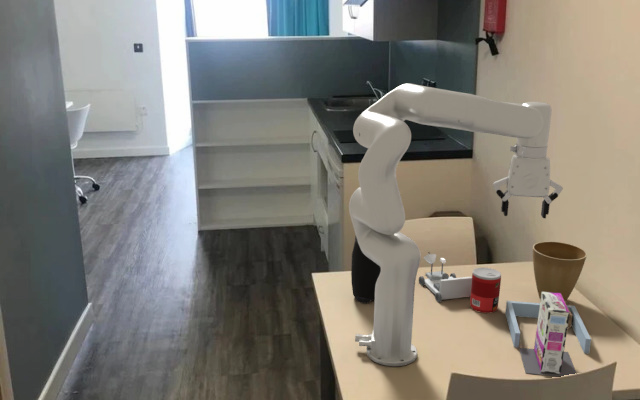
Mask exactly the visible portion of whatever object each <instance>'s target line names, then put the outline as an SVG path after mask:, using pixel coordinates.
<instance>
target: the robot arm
mask: <svg viewBox="0 0 640 400" xmlns="http://www.w3.org/2000/svg"><path fill="white" fill-rule="evenodd" d="M551 118H552V107H551V105H550V104H548V103H546V102H541V101H526V102H524V103H522V102H521V103H519V102H518V103H517V102H509V101H507V102H506V101H504V102H503V101H498V100H494V99H490V98H488V97H484V96H481V95H477V94H473V93H466V92H461V91H455V90H454V91H453V90H448V89H444V88H443V89H442V88H436V87H431V86H426V85H425V86H424V85H419V84H415V83H410V82H409V83H403V84H401V85H399V86H397V87H395V88H394V89H392V90H390V91H389V92H388V93H386V94H385V95H384V96H382V97H381V98H380V99H379V100H377V101H376V102H374V103H373V104H372V105H370V106H369V107H368V108H366V109H364V111H362V112H361V114H359V115H358V117H357V118H356V119H355V121H354V124H353V129H352V132H353V137H354V139H355V141H356V143H358V144H359V145H360V146H362V147H364V148H366V149H367V150H366V152H365V154H364V156H363V158H362V159H361V162H360V164H359V166H358V171H357V172H358V174H357V175H358V176H357V178H358V183H359V187H357V189H355V190H354V192H353V193H352V194H351V196H350V198H349V203H348V211H349V216H350V220H351V223H352V227H353V230H354V234H355V236H356V237H357V241H358V244H359V246H360V249H361V251H362V252H363V254H364V255H365V256H367V257H368V258H369V259H371V260H372V261H373V262H375V263H376V264H377V265H379V266H380V268H381V272H380V275H379V277H378V279H377V281H376V285H375V300H374V310H373V328H372V329H373V330H372V332H371V333H368V334H362V333H359V334H358V333H355V337H354V338H355V339H354V341H355V342H357V343H358V346H359V347H366V349H365V351H366V352H365V353H366V355H367V357H368V358H369V359H370V360H371V361H373V362H375V363H377V364H379V365H382V366H387V367H401V366H402V367H403V366H406V365H409V364H411V363H413V362H414V361H415V360H416V359H417V356H418V349H417V348H416V346H415V345H414V344H412V339H413V323H414V307H415V306H414V305H415V290H416V289H415V288H416V287H415V286H416V281H417V273H418V271H419V268H420V264H421V257H422V256H421V251H420V248H419V246H418V244H417V243H416V242H415V241H414V240H413V239H412V238H410V237H409V236H407V235H405V234H404V233H403V232H401V230H402V229H403V227H405V222H406V212H405V208H404V204H403V200H402V196H401V192H400V189H399V185H398V178H397V168H398V165H399V163H400V161H401V159H402V158H403V156H404V155H405V153H407V150H408V149H409V147H410V144H411V141H412V132H411V129H410V127H409V126H408V124H407V123H406V122H405V121H410V122H413V123H417V124H419V125H426V126H432V127H437V128H438V127H440V128H448V129H453V130H454V129H455V130H460V131H461V130H462V131H468V132H471V133H472V132H473V133H482V134H490V135H491V134H492V135H498V136H503V137H509V138H516V143H515V145H510V146H509V151H510V152H513V153H514V154H512V157H511V161H510V164H509V168H508V175H507V176H506V177H503V178H501V179H498V180H496V181H494V182H493V183H492V186H493V188H494V190H495V192H496V194H497V196H498V197H499V198H500V199H501V209H500V211H501V213H503V215H504V217H507V216H508V213H509V204H510V202H509V199H510V198H511V197H512V196H513V197H514V196H515V197H527V198H543V201H542V202H541V203H542V204H541V210H540V211H541V212H540V215H541V218H543V219H546V218H547V215H549V212H550V206H551V204H552V202H553V201H555V200H556V199H557V198H558V197H559V195H560V193H562V191H563V189H564V187H563V186H562V185H560V184H559V183H557V182H555V181H553V180H551V161H550V158H549V157H548V156H547V153H548V146H549V136H550V127H551V120H552V119H551ZM503 185H506V190H505V191H504V192H503V191H502V190H501V186H503ZM550 187H551V188H554V190H553V192H552V193H550V194H549V192H550Z"/></svg>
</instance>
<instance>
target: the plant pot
mask: <svg viewBox="0 0 640 400" xmlns="http://www.w3.org/2000/svg"><path fill="white" fill-rule="evenodd" d="M587 256H588V253H587V252H586V250H584V248H581V247H579V246H577V245H574V244H571V243H566V242H561V241H539V242H536V243H534V244H533V245H532V264H533V266H532V267H533V272H534V273H533V274H534V280H535V286H536V289H537V293H538V298H539V299H540V301H541V293H542V292H554V293H561V295H562V297H563V299H564V301H565V303H566V302H567V301H568V299H569V297H570V296H571V294H572V292H573V290H574V288H575V287H576V285H577V282H578V280H579V279H580V275H581V274H582V270H583V268H584V266H585V262H586V259H587Z"/></svg>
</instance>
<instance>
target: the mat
mask: <svg viewBox="0 0 640 400" xmlns="http://www.w3.org/2000/svg"><path fill="white" fill-rule="evenodd" d="M518 350H519V355H520V357H521V361H522V364H523V368H524V371H525V374H528V375H538V376H547V377H558V376H564V375H569V374H575V373H577V370H576V368H575V366H574V363H573V360H572V358H571V356H570V354H569V352H568V351H564V354H563V361H562V368H561V374H551V373H543V372H540V368H539V365H538V361H537V358H536V355H535V352H534V348H528V347H527V348H526V347H518Z"/></svg>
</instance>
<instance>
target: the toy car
mask: <svg viewBox="0 0 640 400" xmlns="http://www.w3.org/2000/svg"><path fill="white" fill-rule="evenodd" d="M427 253H428V254H426V255H425V256H423V259H424V260H425V261H426V262H427V263H428V264H429V265H431V267H430V272H425V275H424V276H425V277H426V278H424V276H422V275H420V276H419V277H418V283H419V285H420V286H422V287H423V286H425V287H427V288H428V289H429V291H431V293H433V294H434V296H435V297H434V298H435V301H436V302H437V303H441V302H442V300H449V299H450V300H451V299H459V298H470V295H471V283H472V276H464V277H463V276H462V277H457V275H456V273H455V272H452V273H450V275H449V274H448V273H447V272H445V271H444V270H443V269H444V264H446V258H444V257H439V262H441V270H440V271H439V270H438V271H433V265H434V264H435V262H436V259H437V254H436V253H431V252H430V251H428V252H427Z"/></svg>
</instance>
